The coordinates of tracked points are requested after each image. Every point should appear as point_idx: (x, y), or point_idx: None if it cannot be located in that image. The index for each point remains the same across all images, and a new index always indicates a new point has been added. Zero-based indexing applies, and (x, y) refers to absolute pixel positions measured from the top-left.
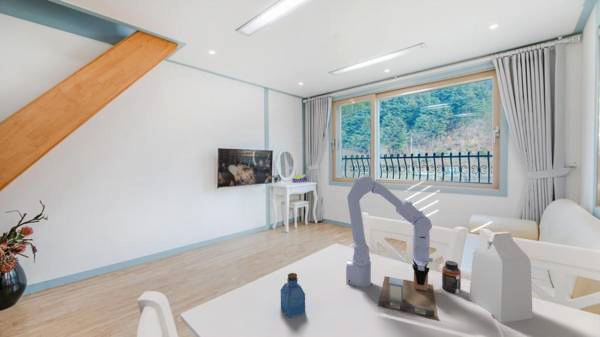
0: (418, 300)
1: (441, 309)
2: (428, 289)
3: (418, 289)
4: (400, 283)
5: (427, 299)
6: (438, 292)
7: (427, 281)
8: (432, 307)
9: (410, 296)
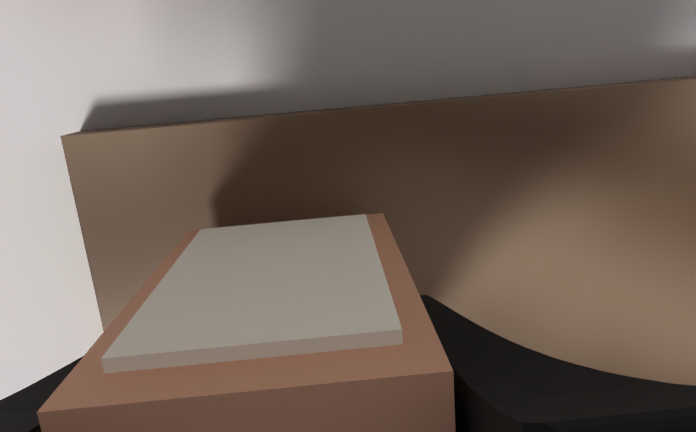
0: (639, 290)
1: (656, 13)
2: (263, 193)
3: None
4: None
5: (566, 191)
6: (197, 52)
7: (379, 258)
8: None
9: None
